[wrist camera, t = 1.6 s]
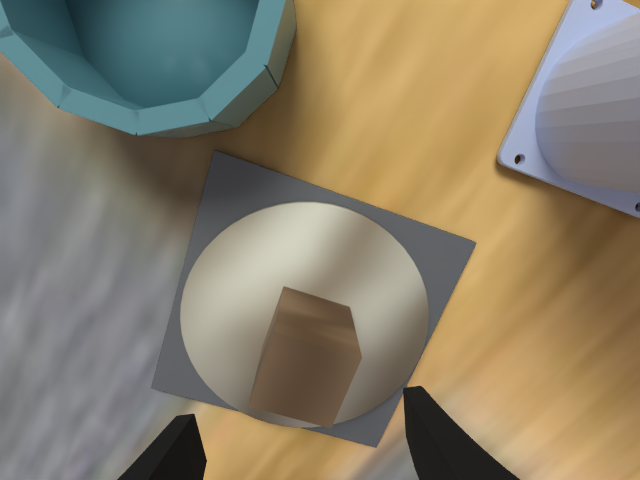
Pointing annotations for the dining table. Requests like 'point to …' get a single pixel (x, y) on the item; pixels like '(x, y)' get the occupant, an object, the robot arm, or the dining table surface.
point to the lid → (304, 314)
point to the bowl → (152, 59)
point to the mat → (274, 188)
